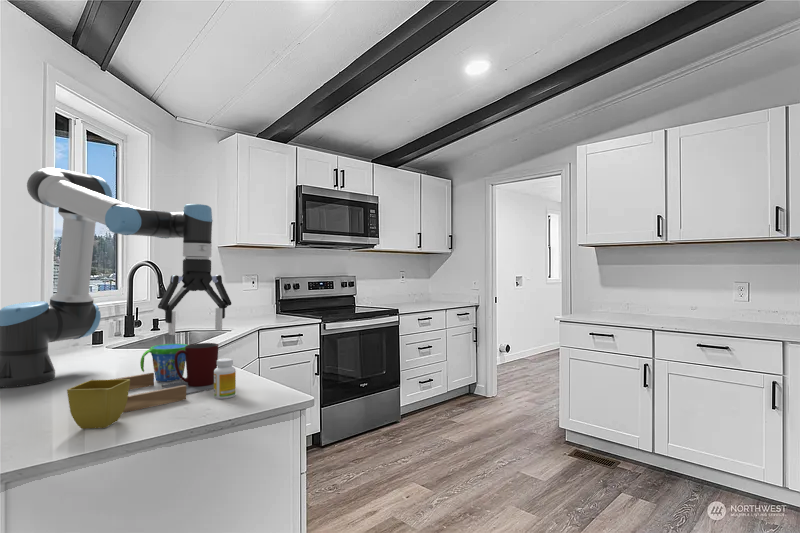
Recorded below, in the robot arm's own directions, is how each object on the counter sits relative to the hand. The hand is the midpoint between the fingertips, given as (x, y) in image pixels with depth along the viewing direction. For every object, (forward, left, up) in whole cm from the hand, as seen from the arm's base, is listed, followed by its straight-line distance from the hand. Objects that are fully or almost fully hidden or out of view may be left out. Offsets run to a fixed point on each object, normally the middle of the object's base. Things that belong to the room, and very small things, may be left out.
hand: (196, 332), depth 133 cm
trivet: (0, 0, -15) cm, 15 cm away
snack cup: (-14, -2, -16) cm, 21 cm away
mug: (0, 0, -15) cm, 15 cm away
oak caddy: (0, -17, -15) cm, 23 cm away
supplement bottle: (+16, 0, -16) cm, 23 cm away
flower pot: (+17, -29, -16) cm, 37 cm away
